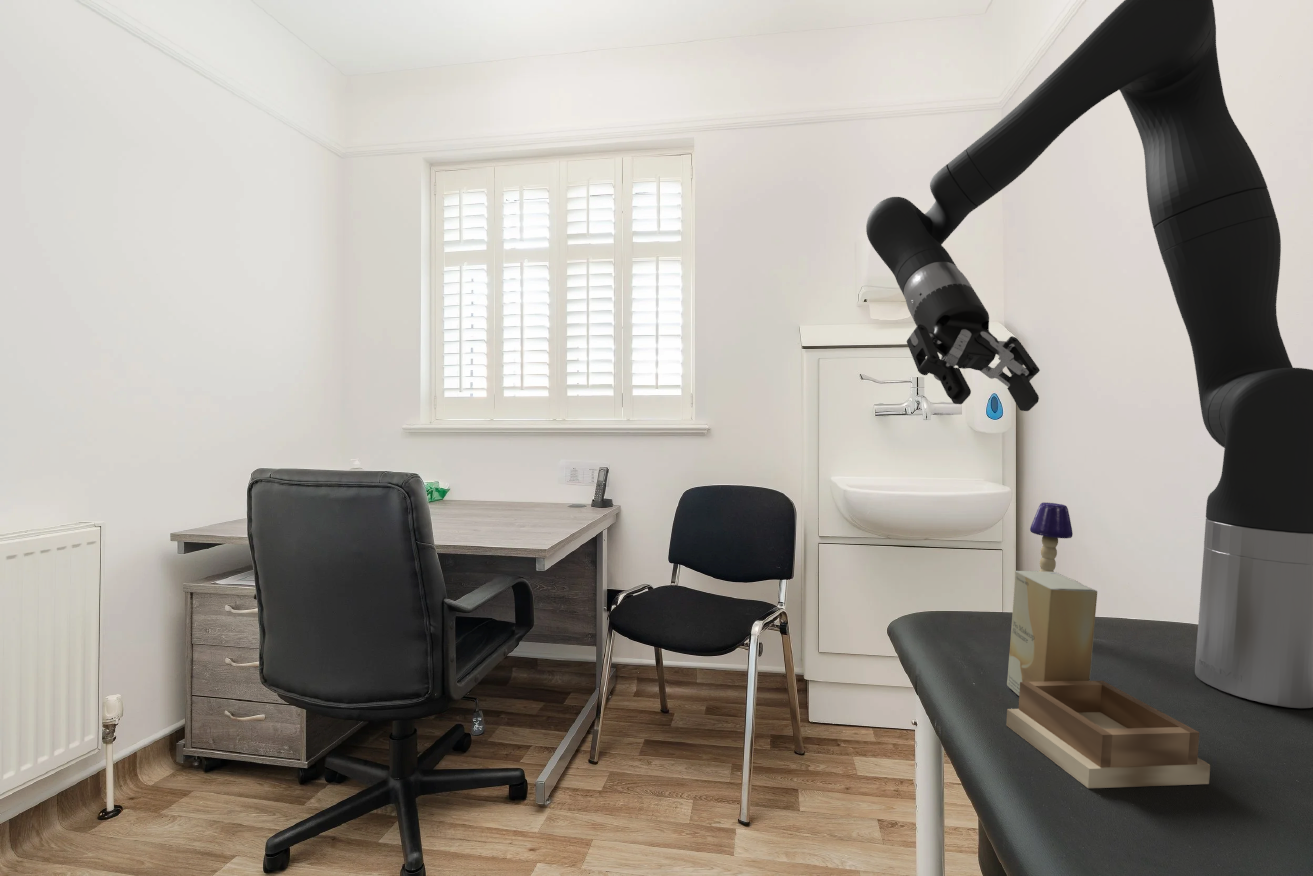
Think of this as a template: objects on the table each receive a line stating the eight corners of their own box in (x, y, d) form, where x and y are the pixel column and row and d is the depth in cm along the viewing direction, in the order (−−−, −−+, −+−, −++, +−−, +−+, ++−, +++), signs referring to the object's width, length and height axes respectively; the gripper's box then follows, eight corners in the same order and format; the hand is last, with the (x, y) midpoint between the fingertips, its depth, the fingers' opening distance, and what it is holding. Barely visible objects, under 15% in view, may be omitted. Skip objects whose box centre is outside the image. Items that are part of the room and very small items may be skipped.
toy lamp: (1053, 624, 81) (1061, 501, 80) (1074, 637, 76) (1082, 507, 76) (1016, 622, 81) (1023, 500, 81) (1034, 635, 77) (1042, 505, 76)
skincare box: (1005, 686, 62) (1011, 568, 61) (1048, 688, 62) (1055, 570, 61) (1043, 718, 55) (1050, 587, 55) (1091, 720, 55) (1099, 589, 55)
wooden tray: (1108, 722, 55) (1111, 679, 55) (1209, 784, 46) (1212, 732, 46) (1006, 725, 54) (1008, 681, 54) (1088, 788, 45) (1091, 736, 45)
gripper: (908, 274, 71) (960, 372, 61) (1011, 289, 74) (1077, 385, 64) (878, 322, 77) (921, 419, 67) (974, 335, 80) (1029, 429, 70)
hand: (997, 402), depth 66 cm, fingers open, 8 cm apart
